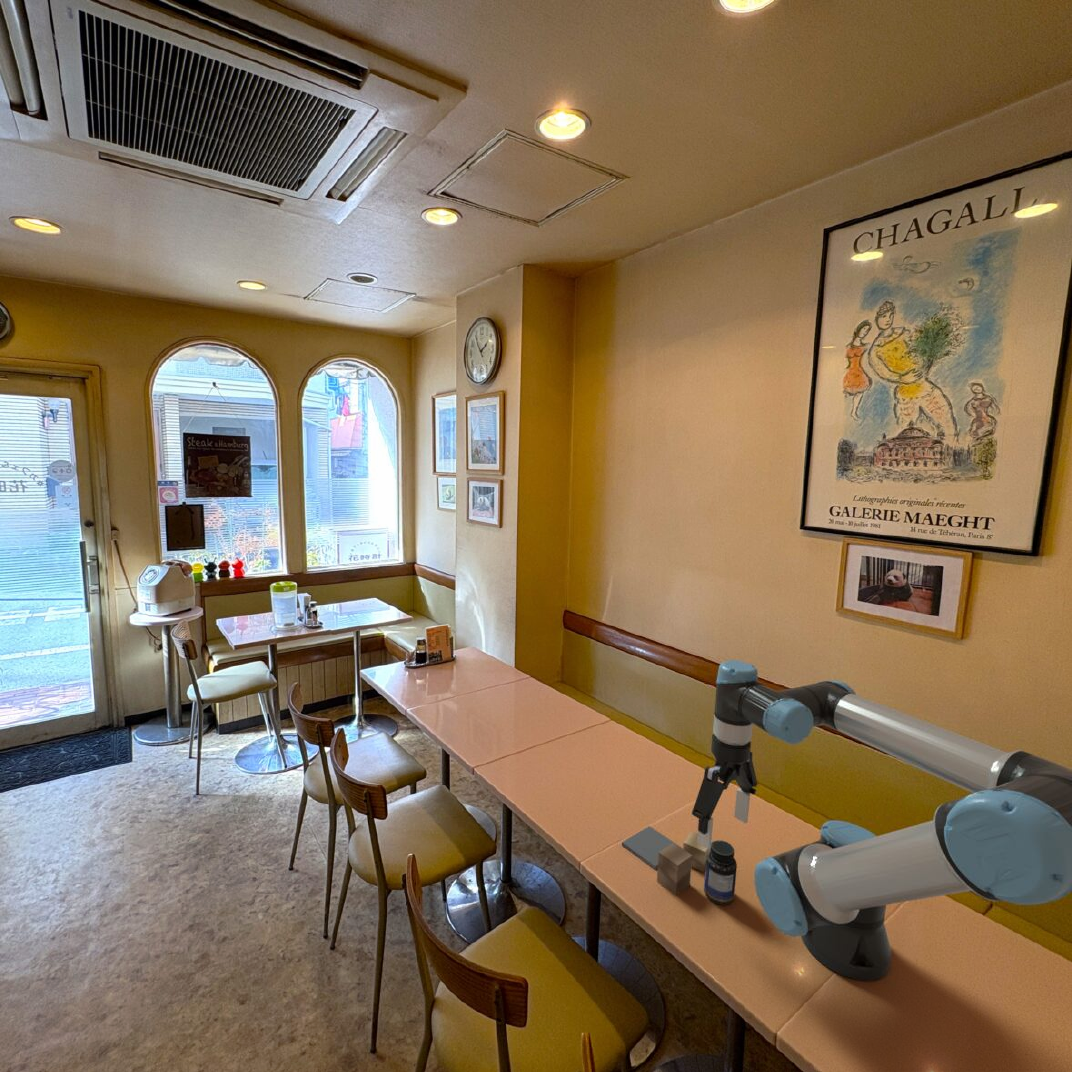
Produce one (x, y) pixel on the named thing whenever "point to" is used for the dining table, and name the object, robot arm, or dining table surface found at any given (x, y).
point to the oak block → (696, 851)
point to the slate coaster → (647, 845)
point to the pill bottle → (720, 873)
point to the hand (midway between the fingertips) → (723, 832)
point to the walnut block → (674, 868)
